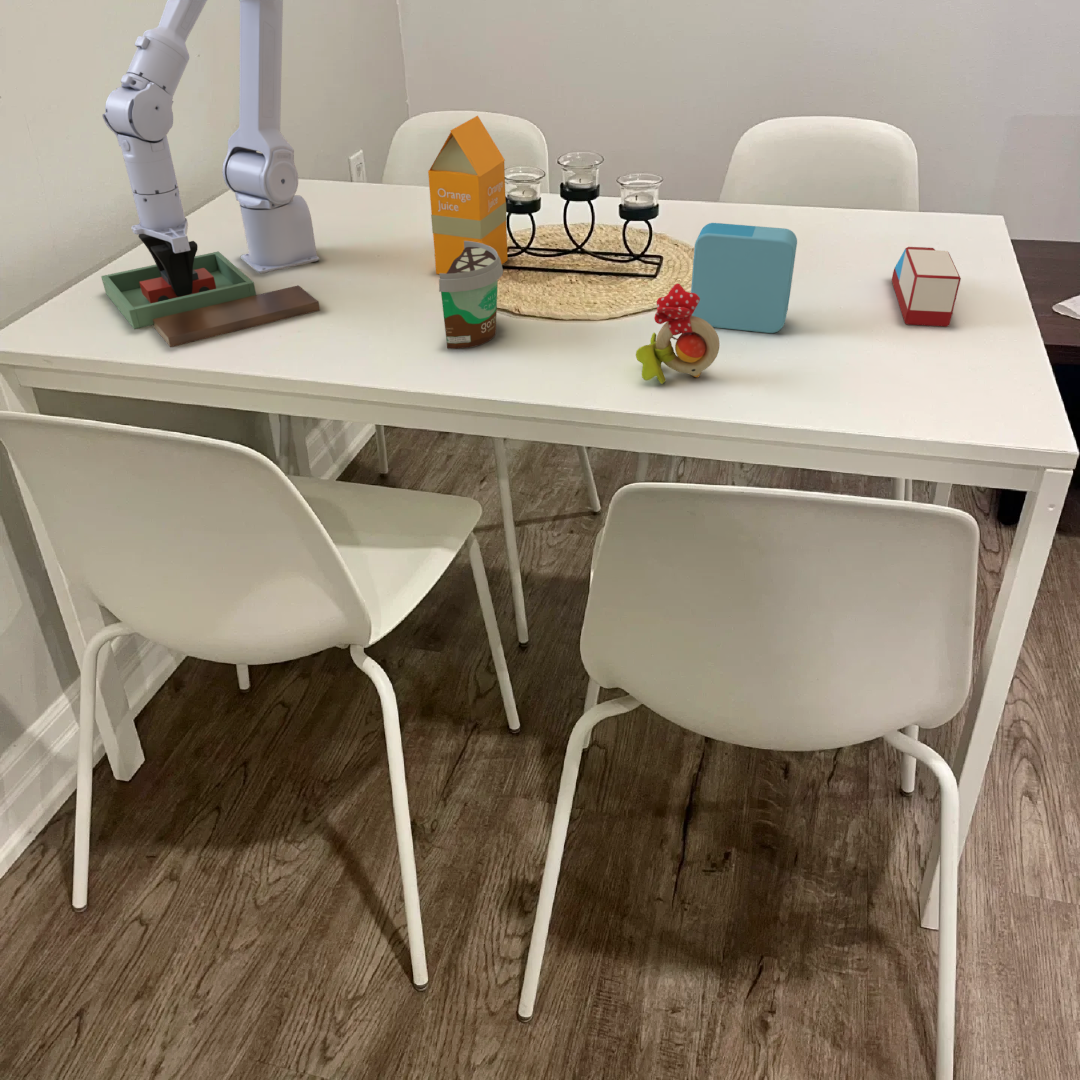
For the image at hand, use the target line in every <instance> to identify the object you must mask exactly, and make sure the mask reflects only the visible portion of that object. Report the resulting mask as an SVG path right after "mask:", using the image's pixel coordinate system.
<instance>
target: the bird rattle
mask: <svg viewBox="0 0 1080 1080" xmlns="http://www.w3.org/2000/svg"><path fill="white" fill-rule="evenodd" d="M699 301H700V298H699V297H698V295H697V294H695V293H691V292H688V291H686V290H685V289H684V287H683V286H682V285H681V284H680V283H675V284H674V285H673V286H672V287H671V288H670V290H669V291H668V293H667V294H666V295H665V296H661V297H659V298H657V300H656V304H655V305H656V307H657V308H656V312H655V314H654V317H653V318H654V321H655V323H656V324H658V325H662V326H661V328H660V329H659V331H658V333H657V334H656V332H653V333H652V334H651V337H650V340H649V341H650V343H649V344H645V345H643V346H639V348H637V350H636V351H635V358H636V360H637V361H638V362H639V363H641V365H642V366H641V367H642V369H641V378H642V379H643V380H644V381H650V380H652V379H653V378H654V377H656V379H657V380H658V382H659V383H660V385H664V383H665V382H666V380H667V379H666V376H665V373H664V371H663V369H662V363H663V364H664V365H666V366H667V367H668V368H669V369H672V370H674V371H675V372H677V373H681V374H688V375H690V376H692V377H694V378H699V377H700V376H701V374H702V372H703V371H705V370H706V369H708V368H709V367H710V366H712V364H713V363H714V361H715V360H716V358H717V357H718V354H719V352H720V338H719V335H718V333H717V331H716V329H715V327H712V326H711V325H710V324H709V323H708V322H706V321H705V320H703V319H701V318H699V317H695V316H692V314H693V312H694V310H695V309H696V307H697V305H698V303H699ZM677 335H679V336H678V338H677V337H674V336H677ZM671 339H673V340H676V342H675V345H674V347H673V344H672V340H671Z"/></svg>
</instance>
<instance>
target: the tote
mask: <svg viewBox="0 0 1080 1080" xmlns="http://www.w3.org/2000/svg"><path fill="white" fill-rule="evenodd" d="M201 268H205V269H206V270H207V271H208V272H209V273H210V274H211V275H212V276H213V277H214V280H215V285H216V289H213V290H208V291H204V292H199V293H195V294H191V295H186V296H182V297H177V298H173V299H168V300H164V301H160V302H155V303H150V302H149V301H148V300H147V299H146V297H145V296H144V295H143V294H142V290H141V286H140V283H139V282H140V281H145V280H150V279H154V278H159V277H162V276H161V274H160V272H159V270H158V267H157V265H156V264H151V265H147V266H142V267H138V268H137V267H136V268H132V269H128V270H123V271H118V272H114V273H109V274H104V275H101V276H100V277H101V281H102V284H103V288H104V291H105V294H106V296H107V297H108V298H109V300H110V301H111V302H112V303H113V304H114V306H115V307H116V308H117V310H118V311H119V312H120V314H121V315H122V316H123V318H124V319H125V320H126V321H127V322H128V323H129V325H130V326H131V327H132V329H133V330H136V329H141V328H145V327H150V326H154V324H153V319H156V318H160V317H164V316H169V315H173V314H177V313H182V312H186V311H190V310H194V309H199V308H203V307H207V306H212V305H216V304H220V303H224V302H229V301H233V300H237V299H242V298H246V297H250V296H254V295H257V292H256V287H255V283H254V281H253V280H252V279H251V278H249V277H248V276H247V275H246V274H245V273H244V272H242V271H241V270H240V269H239V268H238V267H237V266H236V265H234V263H233V262H232V261H230V260H229V259H228V258H227V257H226V256H224V255H223V253H222V252H220V251H213V252H208V253H204V254H200V255H195V258H194V263H193V269H194V270H196V269H201Z"/></svg>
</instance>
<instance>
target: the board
mask: <svg viewBox="0 0 1080 1080" xmlns="http://www.w3.org/2000/svg"><path fill="white" fill-rule="evenodd" d="M319 311H321V309H320V303H319V300H317V299H316V298H315V297H314V296H312V295H311V294H310V293H309V292H307V291H306V290H305V289H303V287H301V286H300V285H298V284H297V285H294V286H289V287H284V288H281V289H276V290H272V291H268V292H264V293H259V294H256V295H254V296H250V297H246V298H242V299H237V300H233V301H229V302H224V303H220V304H216V305H212V306H207V307H203V308H199V309H194V310H190V311H186V312H182V313H177V314H173V315H169V316H164V317H160V318H156V319H153V324H154V325H153V327H154V329H155V330H156V332H157V333H158V334H159V336H161V338H162V340H163V341H165V342H166V344H167V346H169V347H170V348H174V347H177V346H183V345H185V344H190V343H194V342H197V341H202V340H206V339H210V338H215V337H218V336H222V335H227V334H230V333H235V332H238V331H242V330H246V329H251V328H255V327H258V326H262V325H266V324H270V323H274V322H277V321H278V322H279V321H283V320H286V319H292V318H295V317H298V316H303V315H307V314H311V313H315V312H319Z"/></svg>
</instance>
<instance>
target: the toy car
mask: <svg viewBox="0 0 1080 1080" xmlns="http://www.w3.org/2000/svg"><path fill="white" fill-rule="evenodd" d="M161 276H162V277H159V278H154V279H150V280H145V281H140V282H139V283H140V286H141V290H142V294H143V295H144V296H145V297H146V299H147V300H148V301H149V302H150V303H155V302H160V301H164V300H168V299H173V298H177V296H176V294H175V292H174V290H173V288H172V286H171V284H170V281H169V279H168V276H167V274H166V271H165V270H164V271H161ZM213 289H216V285H215V280H214V277H213V276H212V275H211V274H210V273H209V272H208V271H207V270H206V269H205V268H201V269H196V270H194V269H193V289H192V294H195V293H199V292H204V291H208V290H213ZM188 295H191V294H188ZM183 296H186V295H183ZM179 297H182V296H179Z"/></svg>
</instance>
